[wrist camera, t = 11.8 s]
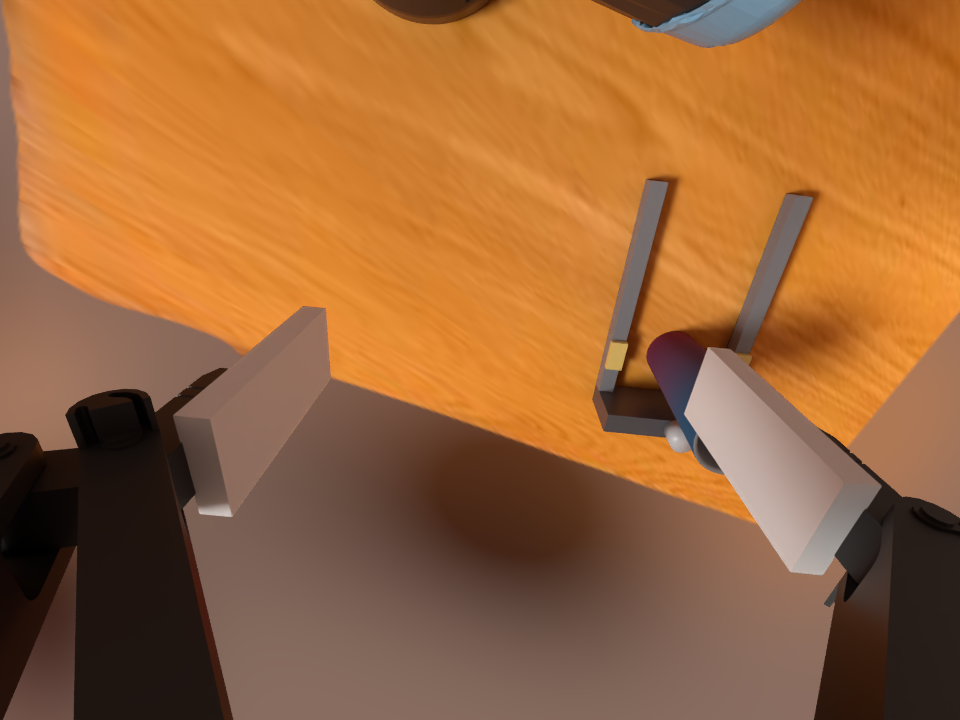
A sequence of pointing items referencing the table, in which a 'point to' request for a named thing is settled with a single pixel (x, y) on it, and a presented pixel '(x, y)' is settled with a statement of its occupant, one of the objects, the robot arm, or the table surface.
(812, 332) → the table surface
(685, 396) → the cup
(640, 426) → the grey u-shaped fork
